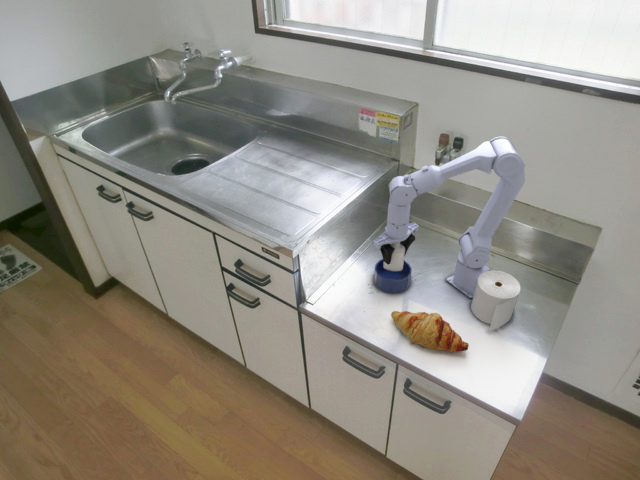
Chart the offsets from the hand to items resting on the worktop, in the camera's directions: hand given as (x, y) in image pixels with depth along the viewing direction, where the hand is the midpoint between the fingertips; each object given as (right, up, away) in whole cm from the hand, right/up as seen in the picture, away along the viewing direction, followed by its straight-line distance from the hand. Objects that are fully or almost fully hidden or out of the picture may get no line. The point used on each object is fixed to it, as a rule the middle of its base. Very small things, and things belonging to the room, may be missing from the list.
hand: (394, 258), depth 129 cm
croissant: (+7, -20, -11) cm, 23 cm away
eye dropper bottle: (0, -3, +2) cm, 4 cm away
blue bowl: (0, -7, +5) cm, 9 cm away
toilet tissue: (+26, -15, -5) cm, 30 cm away
